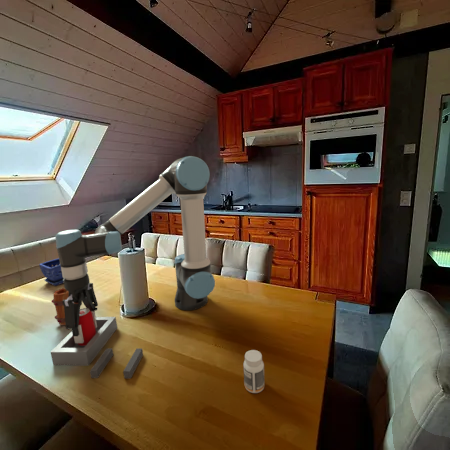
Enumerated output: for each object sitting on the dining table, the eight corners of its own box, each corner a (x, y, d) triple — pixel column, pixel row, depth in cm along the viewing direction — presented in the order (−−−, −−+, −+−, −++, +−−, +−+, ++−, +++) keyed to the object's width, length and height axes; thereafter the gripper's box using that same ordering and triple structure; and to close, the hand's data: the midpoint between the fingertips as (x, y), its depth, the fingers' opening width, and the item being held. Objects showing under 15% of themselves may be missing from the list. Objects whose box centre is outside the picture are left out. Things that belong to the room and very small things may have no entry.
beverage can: (92, 334, 99) (86, 305, 96) (100, 340, 95) (94, 310, 92) (75, 343, 94) (68, 313, 92) (82, 350, 90) (75, 318, 88)
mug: (68, 329, 105) (61, 295, 101) (51, 327, 106) (43, 293, 103) (93, 309, 119) (87, 279, 115) (77, 308, 120) (71, 278, 117)
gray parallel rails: (143, 354, 88) (142, 348, 88) (130, 378, 78) (129, 371, 78) (107, 354, 89) (106, 348, 89) (91, 378, 79) (89, 370, 79)
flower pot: (77, 279, 154) (74, 260, 151) (53, 288, 143) (49, 267, 140) (65, 275, 161) (62, 256, 158) (42, 283, 150) (37, 264, 147)
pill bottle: (262, 377, 77) (262, 347, 75) (266, 393, 71) (265, 362, 69) (243, 378, 77) (242, 348, 74) (245, 395, 71) (244, 363, 69)
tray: (117, 328, 104) (115, 316, 103) (88, 365, 85) (85, 351, 83) (88, 328, 105) (86, 316, 104) (53, 365, 85) (50, 351, 84)
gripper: (83, 264, 99) (92, 318, 104) (42, 289, 79) (56, 354, 84) (102, 264, 99) (110, 318, 104) (66, 289, 78) (79, 355, 84)
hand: (86, 334), depth 94 cm, fingers open, 8 cm apart
